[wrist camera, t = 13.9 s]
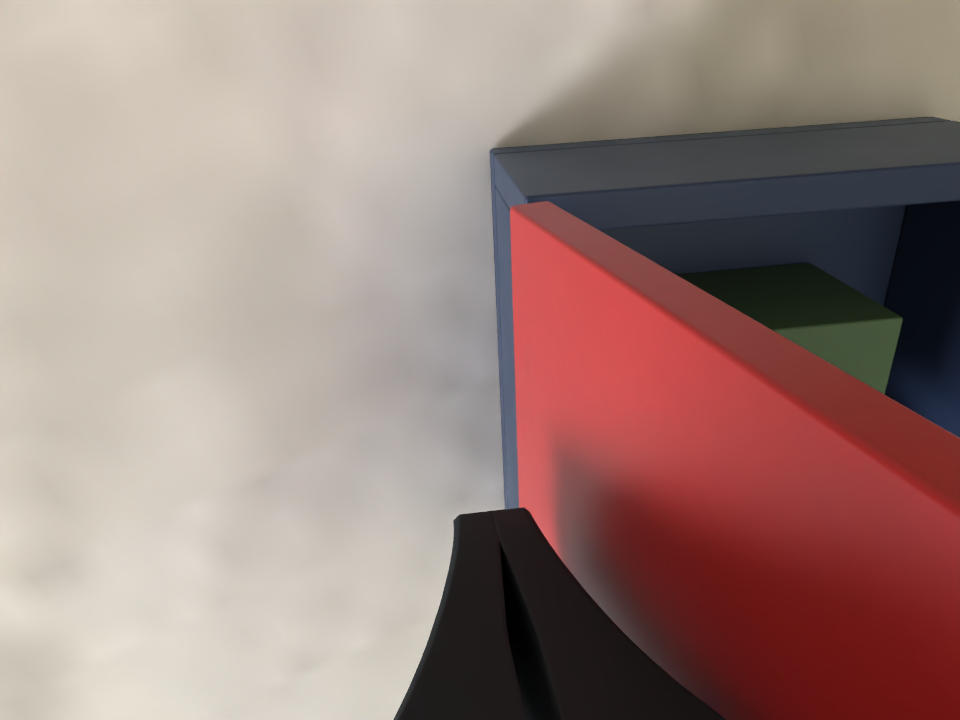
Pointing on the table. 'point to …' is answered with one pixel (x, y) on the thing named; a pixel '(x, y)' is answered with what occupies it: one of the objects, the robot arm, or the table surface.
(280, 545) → the table surface
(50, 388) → the table surface
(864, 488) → the lid
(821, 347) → the block
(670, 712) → the robot arm
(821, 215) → the dark blue open box
